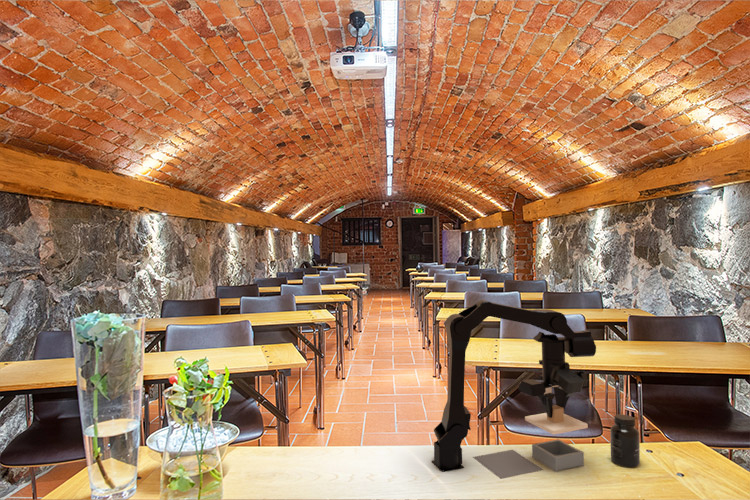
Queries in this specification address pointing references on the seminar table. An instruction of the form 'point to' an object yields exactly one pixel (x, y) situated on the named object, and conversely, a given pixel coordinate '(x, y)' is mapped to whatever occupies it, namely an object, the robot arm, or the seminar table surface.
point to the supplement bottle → (625, 442)
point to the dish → (557, 455)
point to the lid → (556, 421)
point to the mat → (507, 464)
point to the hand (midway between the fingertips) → (555, 416)
